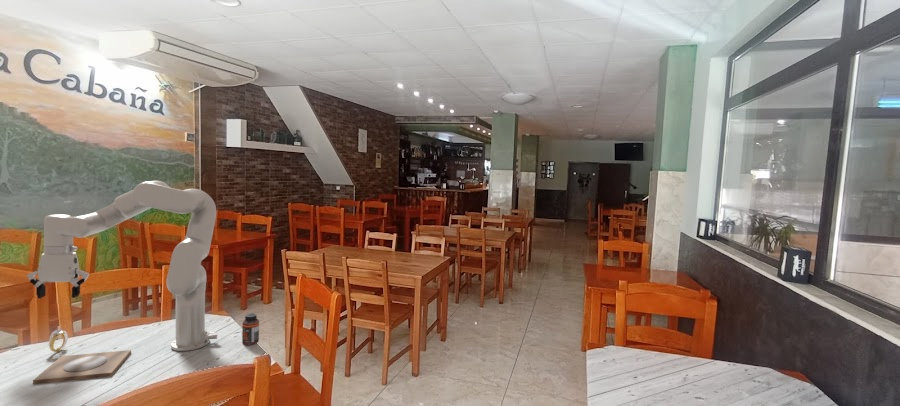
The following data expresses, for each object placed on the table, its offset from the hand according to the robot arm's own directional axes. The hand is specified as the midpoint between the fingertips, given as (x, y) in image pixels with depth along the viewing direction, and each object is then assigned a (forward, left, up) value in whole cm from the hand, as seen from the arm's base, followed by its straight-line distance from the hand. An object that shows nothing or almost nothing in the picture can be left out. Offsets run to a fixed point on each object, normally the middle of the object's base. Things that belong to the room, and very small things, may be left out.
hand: (58, 297), depth 149 cm
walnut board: (-13, +16, -20) cm, 29 cm away
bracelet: (+1, 0, -20) cm, 20 cm away
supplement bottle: (-63, +7, -20) cm, 66 cm away
